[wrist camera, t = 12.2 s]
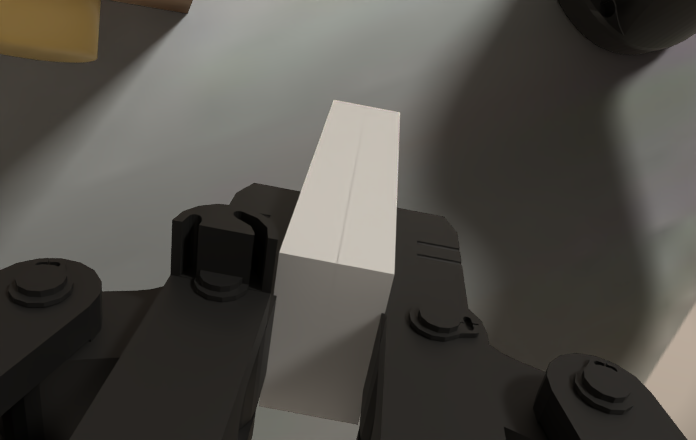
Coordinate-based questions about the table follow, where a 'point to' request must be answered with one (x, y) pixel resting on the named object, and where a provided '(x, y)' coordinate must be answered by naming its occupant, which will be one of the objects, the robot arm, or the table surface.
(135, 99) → the table surface
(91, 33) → the ochre button
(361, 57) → the table surface
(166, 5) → the console
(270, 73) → the table surface
